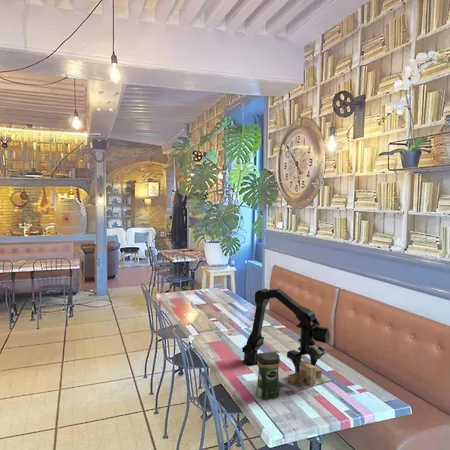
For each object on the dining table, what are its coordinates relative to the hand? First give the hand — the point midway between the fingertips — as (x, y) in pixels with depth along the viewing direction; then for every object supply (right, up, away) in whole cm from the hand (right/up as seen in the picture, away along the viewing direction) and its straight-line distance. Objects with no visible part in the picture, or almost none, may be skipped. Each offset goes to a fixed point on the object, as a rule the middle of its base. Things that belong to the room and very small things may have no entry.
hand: (305, 370), depth 175 cm
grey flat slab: (0, -5, 0) cm, 5 cm away
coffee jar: (-19, -5, -14) cm, 25 cm away
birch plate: (0, -4, 0) cm, 4 cm away
